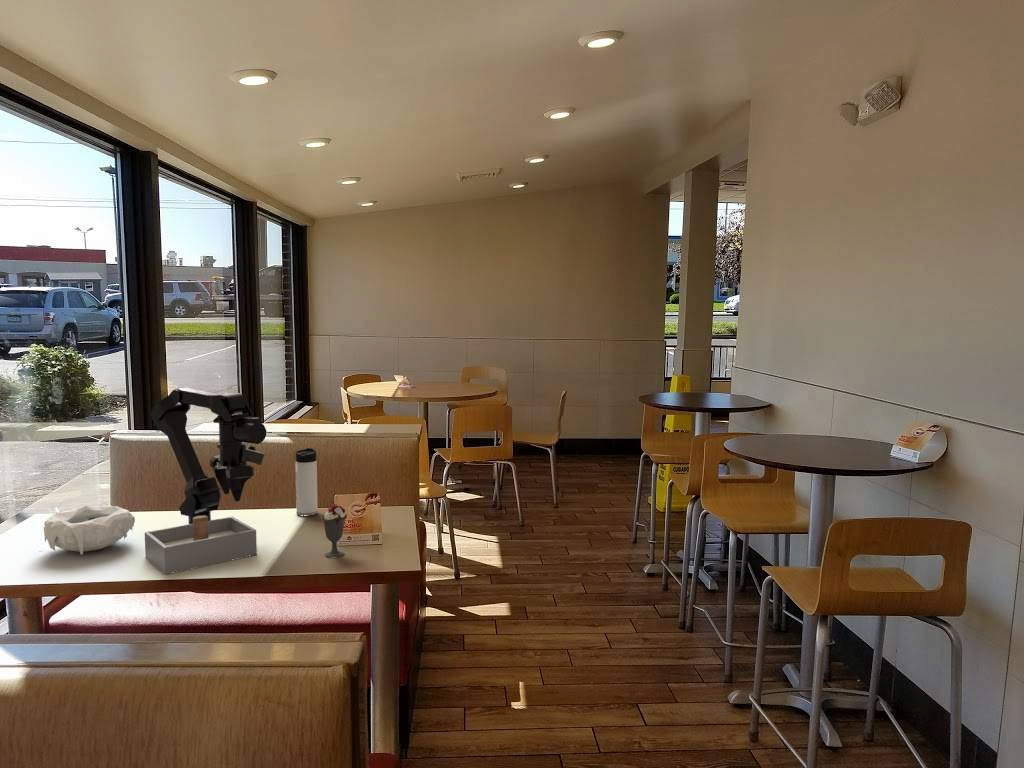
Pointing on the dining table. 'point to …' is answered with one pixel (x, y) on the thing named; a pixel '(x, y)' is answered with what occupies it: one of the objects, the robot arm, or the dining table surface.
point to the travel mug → (306, 482)
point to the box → (199, 545)
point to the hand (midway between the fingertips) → (231, 497)
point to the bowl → (88, 528)
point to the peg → (200, 527)
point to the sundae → (334, 527)
